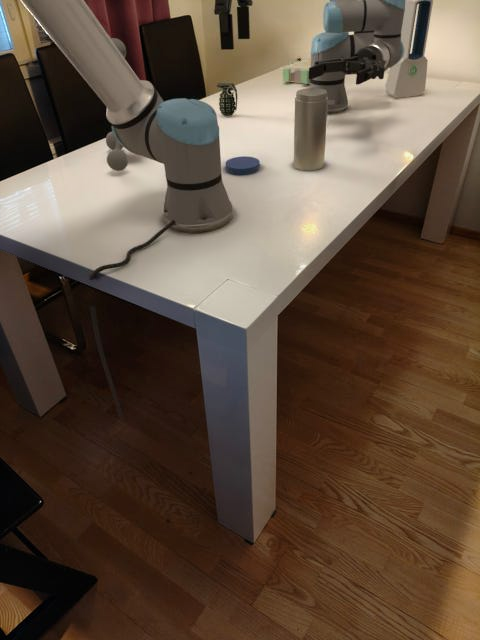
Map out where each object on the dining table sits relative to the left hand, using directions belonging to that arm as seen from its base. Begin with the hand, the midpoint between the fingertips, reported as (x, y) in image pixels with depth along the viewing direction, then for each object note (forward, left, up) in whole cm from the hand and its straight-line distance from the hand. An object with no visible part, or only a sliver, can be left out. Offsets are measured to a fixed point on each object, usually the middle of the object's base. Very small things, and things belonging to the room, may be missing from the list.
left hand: (236, 44), depth 111 cm
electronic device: (+87, -22, -29) cm, 94 cm away
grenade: (+42, +28, -29) cm, 59 cm away
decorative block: (+102, +21, -29) cm, 108 cm away
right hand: (+19, -17, -10) cm, 27 cm away
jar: (+9, -15, -29) cm, 34 cm away
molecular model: (-2, +31, -29) cm, 43 cm away
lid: (0, 0, -28) cm, 28 cm away
